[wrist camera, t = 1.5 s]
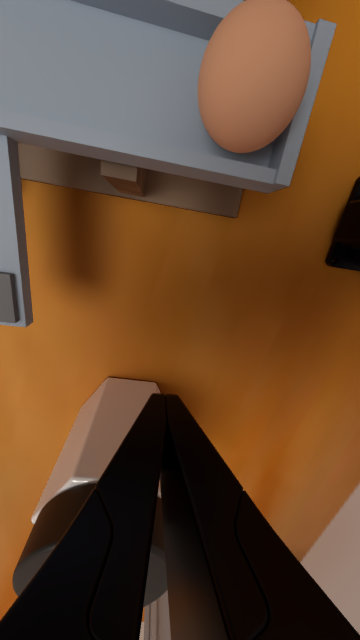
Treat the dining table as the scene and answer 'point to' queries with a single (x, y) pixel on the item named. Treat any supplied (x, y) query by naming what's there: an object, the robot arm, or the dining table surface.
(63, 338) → the dining table surface
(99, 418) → the jar
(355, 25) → the dining table surface
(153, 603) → the stool
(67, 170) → the catapult base
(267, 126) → the ball
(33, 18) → the lever
